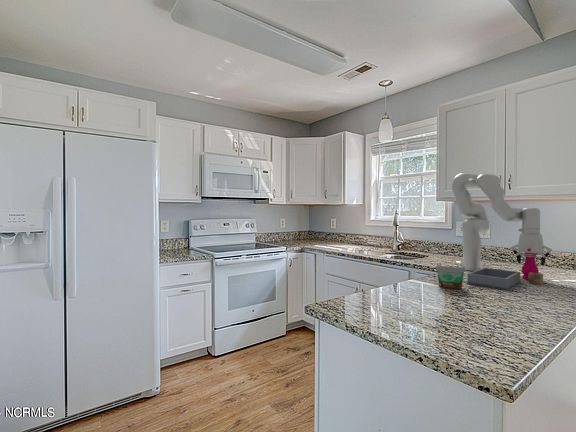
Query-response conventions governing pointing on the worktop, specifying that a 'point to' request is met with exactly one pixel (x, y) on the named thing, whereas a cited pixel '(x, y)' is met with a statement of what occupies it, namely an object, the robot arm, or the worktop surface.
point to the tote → (494, 278)
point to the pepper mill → (529, 265)
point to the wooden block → (535, 278)
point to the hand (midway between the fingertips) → (530, 263)
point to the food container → (450, 277)
